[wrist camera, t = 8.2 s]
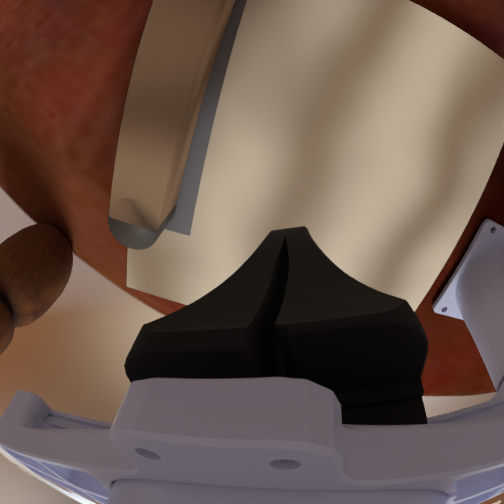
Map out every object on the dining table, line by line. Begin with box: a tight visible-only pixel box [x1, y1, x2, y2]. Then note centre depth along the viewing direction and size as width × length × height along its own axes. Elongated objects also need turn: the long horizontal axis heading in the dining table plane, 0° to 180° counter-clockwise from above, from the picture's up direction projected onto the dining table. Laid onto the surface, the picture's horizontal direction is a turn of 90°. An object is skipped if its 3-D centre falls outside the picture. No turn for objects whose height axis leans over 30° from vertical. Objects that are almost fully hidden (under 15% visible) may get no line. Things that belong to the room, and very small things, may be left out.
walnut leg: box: [108, 0, 236, 250], centre depth 12 cm, size 14×3×2 cm, turn 163°
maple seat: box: [127, 0, 504, 312], centre depth 16 cm, size 18×20×3 cm
